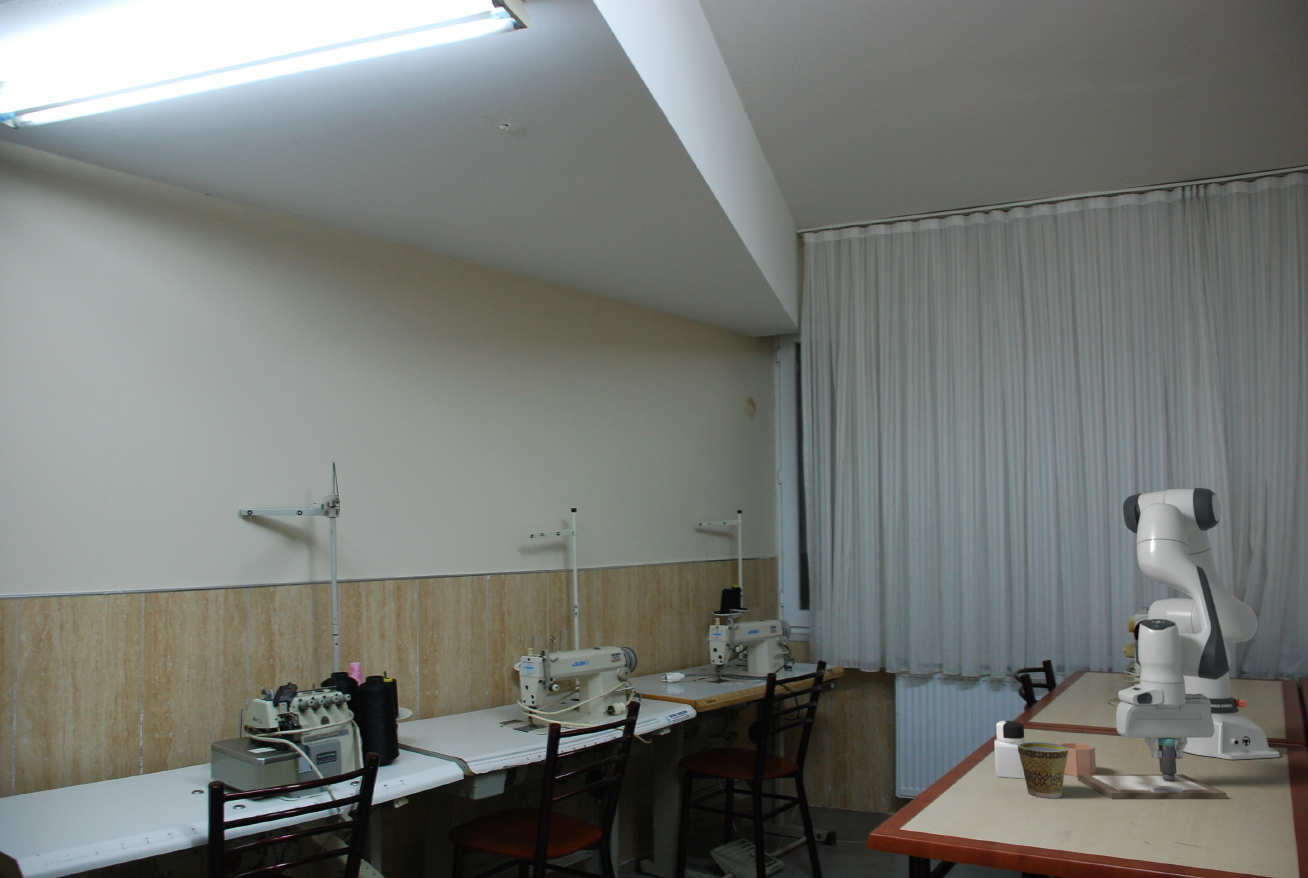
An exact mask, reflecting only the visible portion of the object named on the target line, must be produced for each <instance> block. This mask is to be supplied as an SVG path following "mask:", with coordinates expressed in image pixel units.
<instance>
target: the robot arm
mask: <svg viewBox="0 0 1308 878" xmlns="http://www.w3.org/2000/svg"><path fill="white" fill-rule="evenodd" d="M1221 515H1222V506H1221V503H1220V500H1219V498H1218V497H1217V495H1216V493H1215V492H1214V491H1212V490H1211V489H1210V488H1204V487H1194V488H1170V489H1166V490H1159V491H1151V492H1146V493H1141V492H1140V493H1136V494H1135V493H1134V494H1132V495H1129V496H1127V498H1126V499H1125V500H1124V502H1123V505H1122V519H1123V522H1124V524H1125V526H1126V528H1127V530H1129V531H1131V532H1132V533H1134V534H1136V559H1137V562H1138V563H1137V564H1138V568H1139V569H1140V570H1141V572H1142V573H1143V574H1144V575H1145V576H1146V577H1148V578H1149V579H1150V580H1152V581H1154V582H1156V583H1158V584H1160V585H1162V586H1166V587H1168V588H1172V589H1175V590H1177V591H1179V592H1182V593H1184V594H1186V595H1188V596H1189V597H1190V598H1183V597H1180V598H1179V597H1170V598H1164V599H1159V600H1157V599H1156V600H1155V601H1153V602H1152V604H1151V605H1150V607H1149V608H1148V611H1147V615H1146V616H1147V617H1146V618H1147V619H1146V620H1143V621H1142V622H1141V623H1139V628H1138V638H1137V640H1136V641H1135V642H1134V652H1135V663H1136V664H1137V665H1138V667H1140V676H1139V683H1138V684H1135V685H1133V686H1130V687H1128V688H1124V689H1121V690H1119V691H1118V694H1117V695H1118V699H1119V700H1120V702H1119V703H1118V704H1117V707H1116V716H1115V717H1116V718H1115V719H1116V720H1115V722H1116V724H1115V725H1116V726H1115V727H1116V731H1117V732H1118V734H1119V735H1120V736H1121V737H1124V738H1127V739H1145V740H1144V741H1145V743H1146V745H1148V747H1149V749H1150V750H1151V751H1150V754H1151V758H1152V759H1155V760H1157V759H1162V751H1161V750H1159V748H1158V747H1157V746H1156V743H1157V739H1158V738H1175V742H1177V743H1176V745H1175V756H1176V759H1183V757H1184V753H1183V752H1185V753H1189V754H1192V755H1199V756H1205V757H1212V758H1213V757H1214V758H1220V759H1225V760H1246V759H1250V760H1251V759H1267V758H1268V759H1269V758H1270V759H1271V758H1280V757H1281V756H1280V752H1279V751H1278V750H1276V749H1274V748H1271V747H1270V746H1269V743H1268V737H1267V735H1266V733H1265V731H1264V730H1263V729H1262V728H1261V726H1259V725H1257V724H1256V723H1255V722H1253V721H1252V720H1251V719H1249V718H1248V717H1246V716H1245V715H1244V714H1243V713H1242V712H1240V710H1239V708H1242V709H1246V708H1247V707H1248V702H1247V701H1246V700H1245V699H1241V698H1238V699H1236V698H1234V697H1233V696H1231V684H1230V681H1231V680H1230V669H1231V665H1232V656H1231V653H1230V649H1229V647H1228V644H1233V643H1234V644H1236V643H1243V642H1249V641H1250V640H1251V639H1252V638H1253V637H1254V636H1255V634H1256V633H1257V630H1258V625H1259V624H1258V618H1257V614H1256V613H1255V612H1254V610H1253V608H1252V607H1250V605H1248V604H1247V603H1245V602H1244V601H1242V600H1240V599H1239V598H1237V597H1236V596H1235V595H1234V594H1232V592H1230V591H1229V589H1228V588H1227V587H1226V586H1225V585H1224V583H1223V582H1222V580H1221V578H1220V576H1219V574H1218V571H1217V568H1216V564H1215V560H1214V556H1213V552H1212V547H1211V542H1210V539H1209V534H1208V532H1207V531H1209V530H1210V529H1213V528H1215V527H1216V526H1217V525H1218V524H1219V522H1220V518H1221Z"/></svg>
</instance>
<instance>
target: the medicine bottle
mask: <svg viewBox="0 0 1308 878" xmlns="http://www.w3.org/2000/svg"><path fill="white" fill-rule="evenodd" d="M995 731H996V739H994V762H995V765H994V767H995V776H996V778H1004V777H1007V778H1006V779H1018V778H1020V780H1021V779H1022V780H1025V776H1024V771H1023V767H1022V763H1021V760H1020V755H1019V752H1018V744H1020V743H1023V742H1026V741H1025V727H1024V724H1023V723H1021V722H1018V721H1014V720H1001V721H998V722H997V723H996V728H995Z"/></svg>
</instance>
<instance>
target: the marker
mask: <svg viewBox="0 0 1308 878" xmlns="http://www.w3.org/2000/svg"><path fill="white" fill-rule="evenodd" d="M1157 745H1158V747H1157V748H1158V749H1159V750H1161V751H1162V759H1159V773H1161V775H1162V777H1163V779H1164V780H1169V781H1174V780H1175V774H1178V773H1177V760H1176V759H1177V758H1176V756H1175V748H1176V738H1157Z"/></svg>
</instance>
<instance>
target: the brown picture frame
mask: <svg viewBox="0 0 1308 878" xmlns="http://www.w3.org/2000/svg"><path fill="white" fill-rule="evenodd" d="M1077 781H1079V782H1080V781H1081V782H1080V783H1082V782H1083V784H1084V785H1086V786H1087V787H1089V786H1090V788H1091V787H1092V788H1091V789H1093V790H1095V791H1096V792H1098V793H1100V794H1103V795H1104V796H1106V797H1108V798H1110V799H1111V800H1188V799H1189V800H1222V799H1223V800H1227V792H1225V791H1222V790H1220V789H1218V788H1216V787H1213V786H1211V785H1208V784H1206V783H1204V782H1202V781H1199V780H1197V779H1195V778H1192V777H1190V776H1188V775H1185V774H1183V773H1182V774H1178V773H1176V774H1175V780H1174V781H1169V780H1164V779H1163V777H1162V774H1096V775H1078V776H1077Z"/></svg>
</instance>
